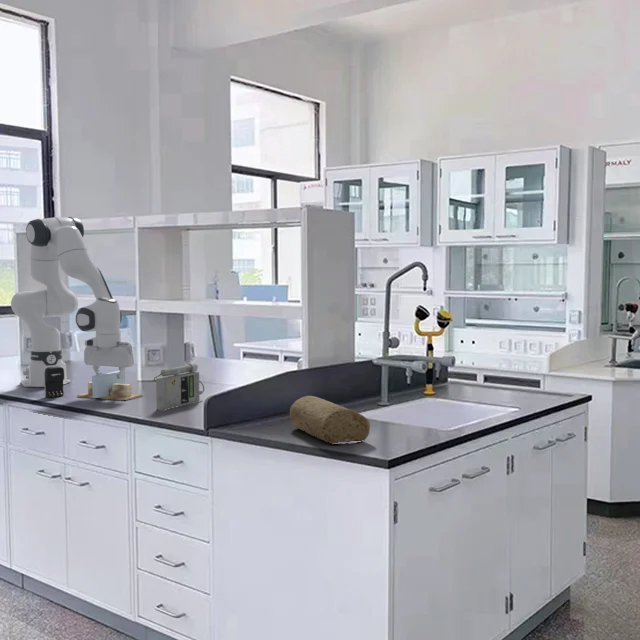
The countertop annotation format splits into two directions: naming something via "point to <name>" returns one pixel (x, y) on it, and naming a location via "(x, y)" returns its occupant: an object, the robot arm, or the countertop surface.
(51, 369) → the battery
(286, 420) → the countertop surface
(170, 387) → the geiger counter
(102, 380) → the blue plate
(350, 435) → the core sample
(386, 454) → the countertop surface
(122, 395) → the joint jig
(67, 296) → the robot arm
